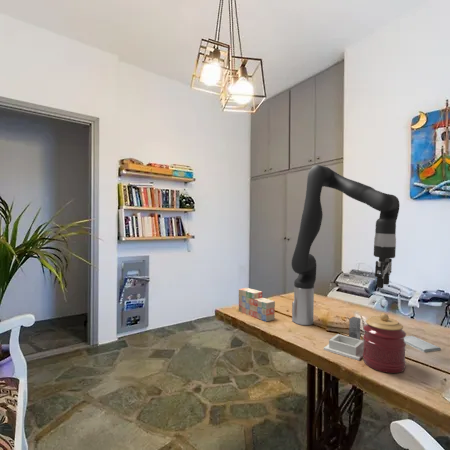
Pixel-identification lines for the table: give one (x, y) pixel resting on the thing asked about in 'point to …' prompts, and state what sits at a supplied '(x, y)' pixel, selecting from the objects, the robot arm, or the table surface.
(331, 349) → the dock
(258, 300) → the stack of blocks
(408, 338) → the hard drive
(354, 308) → the table surface
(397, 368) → the canister
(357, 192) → the robot arm
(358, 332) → the block
